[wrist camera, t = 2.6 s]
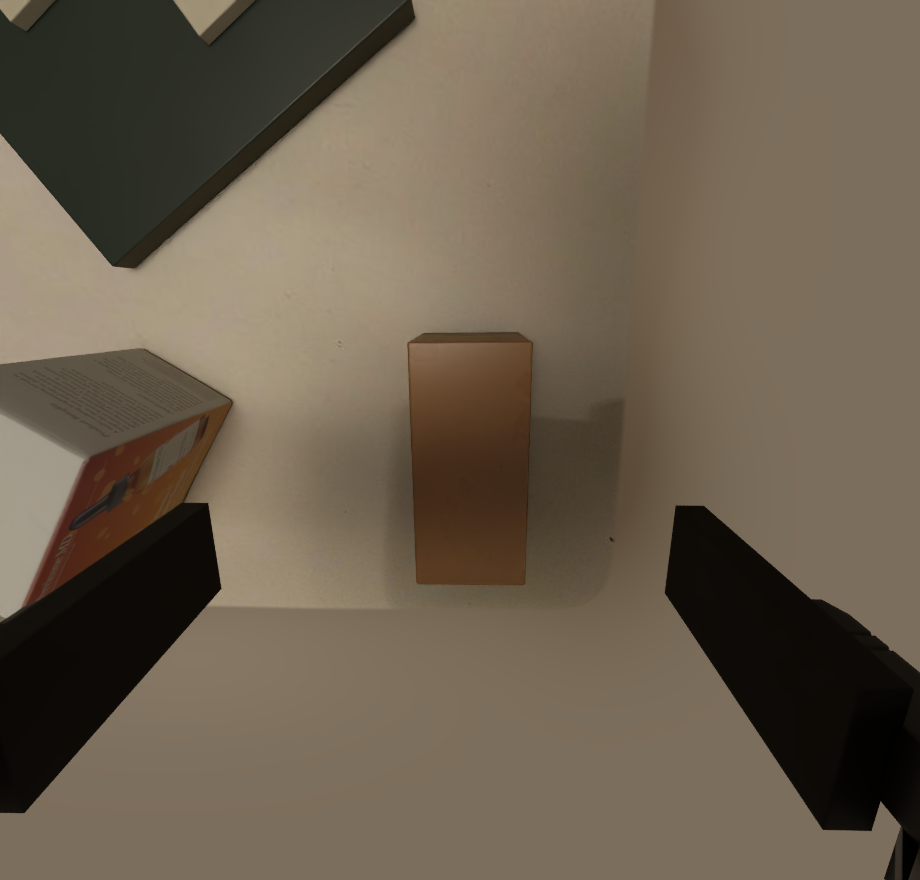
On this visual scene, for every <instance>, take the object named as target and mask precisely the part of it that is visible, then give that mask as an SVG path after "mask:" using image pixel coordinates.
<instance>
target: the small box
mask: <svg viewBox="0 0 920 880" xmlns="http://www.w3.org/2000/svg"><path fill="white" fill-rule="evenodd" d="M231 404H232V402H231V401H230V400H229V399H227V398H226V397H224V396H222V395H220V394H219V393H217V392H215V391H214V390H212V389H210V388H209V387H207V386H205V385H204V384H202V383H200V382H199V381H197V380H195V379H193V378H192V377H190V376H188V375H187V374H185V373H183V372H182V371H180V370H178V369H176V368H175V367H173V366H171V365H170V364H168V363H166V362H164V361H163V360H161V359H159V358H157V357H156V356H154V355H152V354H150V353H149V352H147V351H146V350H144V349H141V348H137V349H129V350H121V351H113V352H104V353H95V354H86V355H77V356H68V357H59V358H51V359H43V360H33V361H26V362H17V363H9V364H0V616H2V617H4V618H8V617H9V616H11V615H12V614H14V613H15V612H17V611H18V610H19V609H21V608H22V607H25V606H27V605H29V604H31V603H33V602H35V601H37V600H40V599H42V598H44V597H45V596H47V595H48V594H50V593H51V592H52V591H54V590H55V589H57V588H58V587H60V586H61V585H63V584H64V583H66V582H67V581H68V580H70V579H71V578H73V577H74V576H76V575H77V574H79V573H80V572H82V571H83V570H84V569H86V568H87V567H89V566H90V565H92V564H93V563H95V562H96V561H98V560H99V559H101V558H102V557H103V556H105V555H106V554H108V553H109V552H111V551H112V550H114V549H115V548H117V547H118V546H119V545H121V544H122V543H124V542H125V541H127V540H128V539H130V538H131V537H133V536H134V535H135V534H137V533H138V532H140V531H141V530H143V529H144V528H146V527H147V526H149V525H150V524H152V523H153V522H154V521H156V520H157V519H159V518H160V517H162V516H163V515H165V514H166V513H168V512H169V511H170V510H172V509H173V508H175V507H176V506H178V505H179V504H181V503H182V502H183V500H184V498H185V495H186V493H187V491H188V489H189V487H190V485H191V483H192V481H193V479H194V477H195V475H196V473H197V471H198V469H199V467H200V465H201V463H202V461H203V459H204V457H205V455H206V453H207V451H208V449H209V448H210V446H211V444H212V442H213V440H214V438H215V436H216V434H217V432H218V430H219V428H220V426H221V424H222V422H223V420H224V418H225V416H226V414H227V412H228V410H229V408H230V406H231Z"/></svg>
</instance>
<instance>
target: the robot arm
mask: <svg viewBox="0 0 920 880" xmlns="http://www.w3.org/2000/svg"><path fill="white" fill-rule="evenodd" d="M220 590H221V583H220V577H219V570H218V564H217V557H216V551H215V545H214V538H213V532H212V525H211V519H210V513H209V506H208V503H181V504H179V505H178V506H176V507H175V508H173V509H172V510H170V511H169V512H168V513H166V514H165V515H163V516H162V517H160V518H159V519H157V520H156V521H154V522H153V523H152V524H150V525H149V526H147V527H146V528H144V529H143V530H141V531H140V532H138V533H137V534H135V535H134V536H133V537H131V538H130V539H128V540H127V541H125V542H124V543H122V544H121V545H119V546H118V547H117V548H115V549H114V550H112V551H111V552H109V553H108V554H106V555H105V556H103V557H102V558H101V559H99V560H98V561H96V562H95V563H93V564H92V565H90V566H89V567H87V568H86V569H84V570H83V571H82V572H80V573H79V574H77V575H76V576H74V577H73V578H71V579H70V580H68V581H67V582H66V583H64V584H63V585H61V586H60V587H58V588H57V589H55V590H54V591H52V592H51V593H50V594H48V595H47V596H45V597H44V598H42V599H40V600H37V601H35V602H33V603H31V604H29V605H27V606H25V607H22V608H21V609H19V610H18V611H17V612H15V613H14V614H12V615H11V616H9V617H8V618H6V619H5V620H3V621H2V622H0V813H25V812H26V811H27V809H28V808H29V807H30V806H31V805H32V804H33V803H34V801H35V800H36V799H37V798H38V797H39V796H40V795H41V793H42V792H43V791H44V790H45V789H46V788H47V787H48V786H49V784H50V783H51V782H52V781H53V780H54V779H55V778H56V776H57V775H58V774H59V773H60V772H61V771H62V769H63V768H64V767H65V766H66V765H67V764H68V763H69V762H70V760H71V759H72V758H73V757H74V756H75V755H76V754H77V752H78V751H79V750H80V749H81V748H82V747H83V746H84V745H85V743H86V742H87V741H88V740H89V739H90V738H91V737H92V735H93V734H94V733H95V732H96V731H97V729H99V727H100V726H101V725H102V724H103V723H104V722H105V721H106V719H107V718H108V717H109V716H110V715H111V714H112V713H113V712H114V710H115V709H116V708H117V707H118V706H119V705H120V703H121V702H122V701H123V700H124V699H125V698H126V697H127V695H128V694H129V693H130V692H131V691H132V690H133V689H134V687H135V686H136V685H137V684H138V683H139V682H140V681H141V680H142V678H143V677H144V676H145V675H146V674H147V673H148V672H149V671H150V669H151V668H152V667H153V666H154V665H155V664H156V663H157V661H158V660H159V659H160V658H161V657H162V655H164V653H165V652H166V651H167V650H168V649H169V648H170V647H171V645H172V644H173V643H174V642H175V641H176V640H177V639H178V638H179V636H180V635H181V634H182V633H183V632H184V631H185V630H186V628H187V627H188V626H189V625H190V624H191V623H192V622H193V620H194V619H195V618H196V617H197V616H198V615H199V613H200V612H201V611H202V610H203V609H204V608H205V607H206V606H207V605H208V603H209V602H210V601H211V600H212V599H213V598H214V597H215V595H216V594H217V593H218V592H219V591H220ZM665 594H666V595H667V597H668V598H669V600H670V601H671V603H672V604H673V606H674V607H675V609H676V610H677V612H678V613H679V615H680V616H681V618H682V619H683V621H684V622H685V624H686V625H687V627H688V628H689V630H690V631H691V633H692V634H693V636H694V637H695V639H696V640H697V642H698V643H699V645H700V646H701V648H702V649H703V651H704V652H705V654H706V655H707V657H708V658H709V660H710V661H711V663H712V664H713V666H714V667H715V669H716V670H717V672H718V673H719V675H720V676H721V678H722V679H723V681H724V682H725V684H726V685H727V687H728V688H729V690H730V691H731V693H732V694H733V696H734V697H735V699H736V700H737V702H738V703H739V705H740V706H741V708H742V709H743V711H744V712H745V714H746V715H747V717H748V718H749V720H750V721H751V723H752V724H753V726H754V727H755V729H756V730H757V732H758V733H759V735H760V736H761V738H762V739H763V741H764V742H765V744H766V745H767V747H768V748H769V750H770V751H771V753H772V754H773V756H774V757H775V759H776V760H777V762H778V763H779V765H780V766H781V768H782V769H783V771H784V772H785V774H786V775H787V777H788V778H789V780H790V781H791V783H792V784H793V786H794V787H795V789H796V790H797V792H798V793H799V795H800V796H801V798H802V799H803V800H804V802H805V804H806V805H807V807H808V808H809V810H810V811H811V813H812V814H813V816H814V817H815V819H816V820H817V822H818V823H819V825H820V826H821V828H822V829H823V830H855V831H856V830H857V831H872V827H873V824H874V821H875V818H876V814H877V811H878V808H879V804H880V801H881V802H882V803H883V804H884V806H885V807H886V808H887V809H888V810H889V812H890V813H891V814H892V815H893V816H894V818H895V819H896V820H897V821H898V823H899V824H900V825H901V828H900V831H899V834H898V837H897V840H896V844H895V847H894V850H893V853H892V856H891V859H890V862H889V865H888V868H887V871H886V874H885V877H884V879H885V880H920V672H919V671H917V670H916V669H915V668H914V667H912V666H911V665H910V664H909V663H908V662H906V661H905V660H904V659H903V658H901V657H900V656H899V655H898V654H897V653H895V652H894V651H890V650H889V647H888V646H887V645H886V644H884V643H883V642H882V641H881V640H880V639H878V638H877V637H876V636H872V635H871V633H870V631H868V630H867V629H866V628H865V627H864V626H863V625H861V624H860V623H859V622H858V621H857V620H855V619H854V618H853V617H852V616H850V615H849V614H847V613H845V612H843V611H842V610H840V609H838V608H836V607H834V606H832V605H831V604H829V603H827V602H825V601H823V600H814V599H810V598H809V597H807V595H805V594H804V593H803V592H802V591H801V590H800V589H799V588H797V587H796V586H795V585H794V584H793V583H792V582H790V581H789V580H788V579H787V578H786V577H785V576H784V575H783V574H781V573H780V572H779V571H778V570H777V569H776V568H775V567H773V566H772V565H771V564H770V563H768V561H766V560H765V559H764V558H763V557H762V556H761V555H760V554H758V553H757V552H756V551H755V550H754V549H753V548H751V547H750V546H749V545H748V544H747V543H746V542H745V541H744V540H742V539H741V538H740V537H739V536H738V535H737V534H735V533H734V532H733V531H732V530H731V529H730V528H729V527H727V526H726V525H725V524H724V523H723V522H722V521H721V520H719V519H718V518H717V517H716V516H715V515H714V514H712V513H711V512H710V511H709V510H708V509H707V508H706V507H705V506H676V508H675V516H674V524H673V532H672V540H671V548H670V556H669V564H668V572H667V579H666V587H665Z"/></svg>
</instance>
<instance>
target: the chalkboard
mask: <svg viewBox="0 0 920 880" xmlns="http://www.w3.org/2000/svg"><path fill="white" fill-rule="evenodd" d="M414 18H415V14H414V9H413V5H412V0H255V1H254V2H253V3H252V4H251V5H250V6H249V7H248V8H247V9H246V10H245V11H244V12H243V13H242V14H241V15H240V16H239V17H238V18H237V19H235V20H234V21H233V22H232V23H231V24H230V25H229V26H228V27H227V28H226V29H225V30H224V31H223V32H222V33H221V34H220V35H219V36H218V37H217V38H216V39H215V40H214V41H213V42H212V43H211V44H210V45H208V44H207V43H206V42H205V41H204V40H203V39H202V38H201V37H200V36H199V35H198V34H197V33H196V31H195V30H194V28H193V27H192V26H191V24H190V23H189V21H188V20H187V19H186V17H185V16H184V15H183V13H182V12H181V10H180V9H179V8H178V6H177V5H176V3H175V2H174V1H173V0H55V1H54V3H53V4H52V5H51V6H50V7H49V8H48V9H47V10H46V11H45V12H44V13H43V14H42V15H41V17H40V18H39V19H38V20H37V21H36V22H35V23H34V24H33V25H32V26H31V27H30V28H29V29H28V31H25V30H23V29H22V28H20V27H18V26H17V25H15V24H13V23H12V22H10V21H9V19H8V18H7V17H6V16H5V14H4V13H3V12H2V11H1V9H0V134H1V135H2V136H3V137H4V138H5V140H6V141H7V142H8V143H9V144H10V145H11V147H12V148H13V149H14V150H15V151H16V153H17V154H18V155H19V156H20V157H21V158H22V160H23V161H24V162H25V163H26V164H27V166H28V167H29V168H30V169H31V170H32V171H33V173H34V174H35V175H36V176H37V177H38V179H39V180H40V181H41V182H42V183H43V185H44V186H45V187H46V188H47V189H48V190H49V192H50V193H51V194H52V195H53V196H54V198H55V199H56V200H57V201H58V202H59V203H60V205H61V206H62V207H63V208H64V209H65V211H66V212H67V213H68V214H69V215H70V216H71V218H72V219H73V220H74V221H75V222H76V224H77V225H78V226H79V227H80V228H81V230H82V231H83V232H84V233H85V234H86V235H87V237H88V238H89V239H90V240H91V241H92V243H93V244H94V245H95V246H96V247H97V248H98V250H99V251H100V252H101V253H102V254H103V256H104V257H105V258H106V259H107V260H108V261H109V263H110V264H111V265H112V266H114V267H124V268H134V267H135V266H136V265H137V264H139V263H140V262H141V261H142V260H143V259H144V258H145V257H146V256H148V255H149V254H150V253H151V252H152V251H153V250H154V249H155V248H157V247H158V246H159V245H160V244H161V243H162V242H163V241H164V240H166V239H167V238H168V237H169V236H170V235H171V234H172V233H173V232H175V231H176V230H177V229H178V228H179V227H180V226H181V225H182V224H184V223H185V222H186V221H187V220H188V219H189V218H190V217H191V216H193V215H194V214H195V213H196V212H197V211H198V210H199V209H200V208H202V207H203V206H204V205H205V204H206V203H207V202H208V201H209V200H211V199H212V198H213V197H214V196H215V195H216V194H217V193H218V192H220V191H221V190H222V189H223V188H224V187H225V186H226V185H227V184H229V183H230V182H231V181H232V180H233V179H234V178H235V177H236V176H238V175H239V174H240V173H241V172H242V171H243V170H244V169H245V168H247V167H248V166H249V165H250V164H251V163H252V162H253V161H254V160H256V159H257V158H258V157H259V156H260V155H261V154H262V153H263V152H265V151H266V150H267V149H268V148H269V147H270V146H271V145H272V144H274V143H275V142H276V141H277V140H278V139H279V138H280V137H281V136H283V135H284V134H285V133H286V132H287V131H288V130H289V129H290V128H292V127H293V126H294V125H295V124H296V123H297V122H298V121H299V120H301V119H302V118H303V117H304V116H305V115H306V114H307V113H308V112H310V111H311V110H312V109H313V108H314V107H315V106H316V105H317V104H319V103H320V102H321V101H322V100H323V99H324V98H325V97H326V96H328V95H329V94H330V93H331V92H332V91H333V90H334V89H335V88H337V87H338V86H339V85H340V84H341V83H342V82H343V81H344V80H346V79H347V78H348V77H349V76H350V75H351V74H352V73H353V72H355V71H356V70H357V69H358V68H359V67H360V66H361V65H362V64H364V63H365V62H366V61H367V60H368V59H369V58H370V57H371V56H373V55H374V54H375V53H376V52H377V51H378V50H379V49H380V48H382V47H383V46H384V45H385V44H386V43H387V42H388V41H389V40H391V39H392V38H393V37H394V36H395V35H396V34H397V33H398V32H400V31H401V30H402V29H403V28H404V27H405V26H406V25H407V24H409V23H410V22H411V21H412V20H413V19H414Z"/></svg>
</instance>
